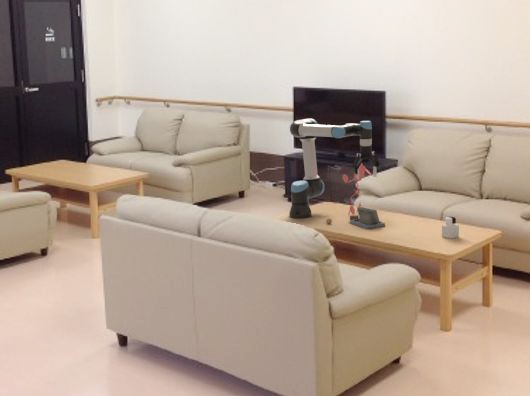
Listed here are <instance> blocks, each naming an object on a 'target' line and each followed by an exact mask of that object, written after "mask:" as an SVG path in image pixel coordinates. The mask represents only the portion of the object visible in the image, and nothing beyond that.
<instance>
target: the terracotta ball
mask: <svg viewBox="0 0 530 396" xmlns="http://www.w3.org/2000/svg"><path fill="white" fill-rule="evenodd" d="M325 221H326V223H327V224H329V225H330V224H331V223H332V222H333V220H332V218H330V217H328V218H326V220H325Z"/></svg>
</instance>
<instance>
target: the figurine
mask: <svg viewBox="0 0 530 396" xmlns="http://www.w3.org/2000/svg"><path fill="white" fill-rule="evenodd" d="M358 169H359V179H356V174H355V171H354V174H353V179H351V180H349V177H348V175H347V174H345V173H343V175H342V180H343V182H344V183H345V184H349V183H351V182H352V181H355V183H356V188H357V190H355V194H353V195H352V196H350V198H352V197H354V196H355V195H359V197H361V193H360V190H359V184H358V182H361V181H362V179H364V178H365V173H367V174H368V175H370V176H372V175H373V174H371V172H370V171H369V170H368V169H367V168H366V166H365V165H363V162H362V163H361V165H360V166H359V168H358ZM350 204H351V205H350V206H349V211H348V215H349V214H350V213H351V215H353V214H355V213H356V212H358V210H357V209H356V211H355V208H354V206H353V201H352V199H350ZM358 207H363V206H362V204H361V202H359V203H358ZM355 215H356V214H355Z"/></svg>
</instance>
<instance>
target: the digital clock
mask: <svg viewBox="0 0 530 396" xmlns="http://www.w3.org/2000/svg"><path fill="white" fill-rule="evenodd" d="M357 210H358V211H357ZM356 211H357V213H358V214H357V215H359V223H362V224H364V225H368V226H369V225H374V224H380V222H381V221H380V217H379V214H378V211H377V209H374V208H369V207H365V206H362V207H359V206H357V207H356Z"/></svg>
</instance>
